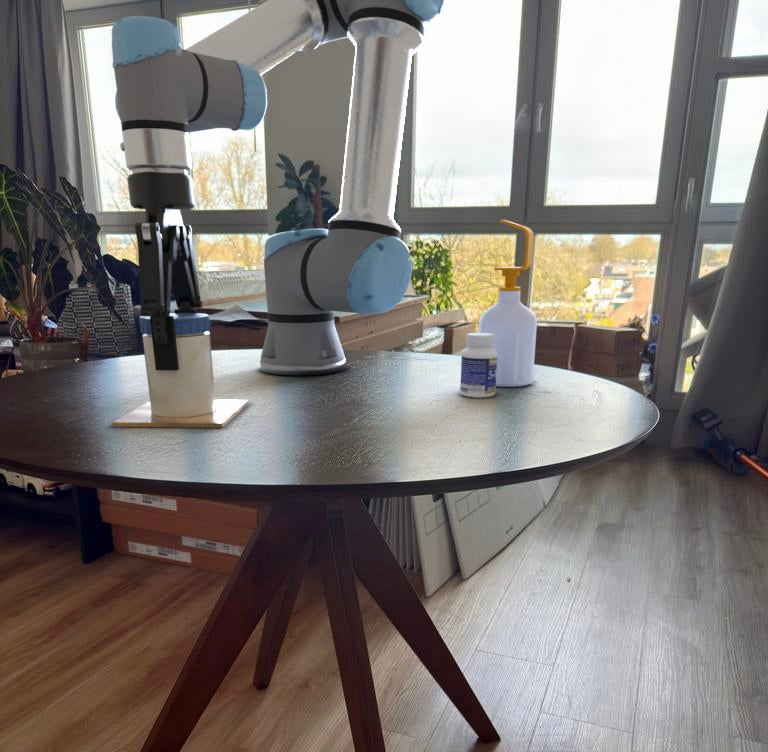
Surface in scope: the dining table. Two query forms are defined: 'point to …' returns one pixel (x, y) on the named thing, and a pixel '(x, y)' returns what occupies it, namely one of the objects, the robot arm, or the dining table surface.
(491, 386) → the pill bottle
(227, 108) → the robot arm
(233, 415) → the mat
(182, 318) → the lid
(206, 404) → the jar
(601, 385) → the dining table surface
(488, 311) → the soap bottle
